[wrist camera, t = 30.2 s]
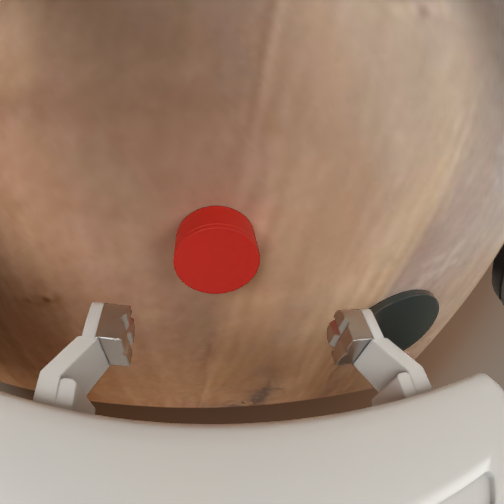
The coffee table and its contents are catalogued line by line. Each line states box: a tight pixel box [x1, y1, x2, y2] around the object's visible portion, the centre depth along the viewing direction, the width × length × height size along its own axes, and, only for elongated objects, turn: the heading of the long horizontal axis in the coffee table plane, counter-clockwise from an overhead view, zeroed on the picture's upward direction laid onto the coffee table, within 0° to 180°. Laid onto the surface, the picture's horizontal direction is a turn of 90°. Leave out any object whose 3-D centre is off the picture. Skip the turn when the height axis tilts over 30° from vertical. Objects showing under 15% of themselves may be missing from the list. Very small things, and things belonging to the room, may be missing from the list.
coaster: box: [370, 290, 439, 351], centre depth 24 cm, size 10×10×1 cm
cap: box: [174, 206, 260, 294], centre depth 15 cm, size 4×4×2 cm
